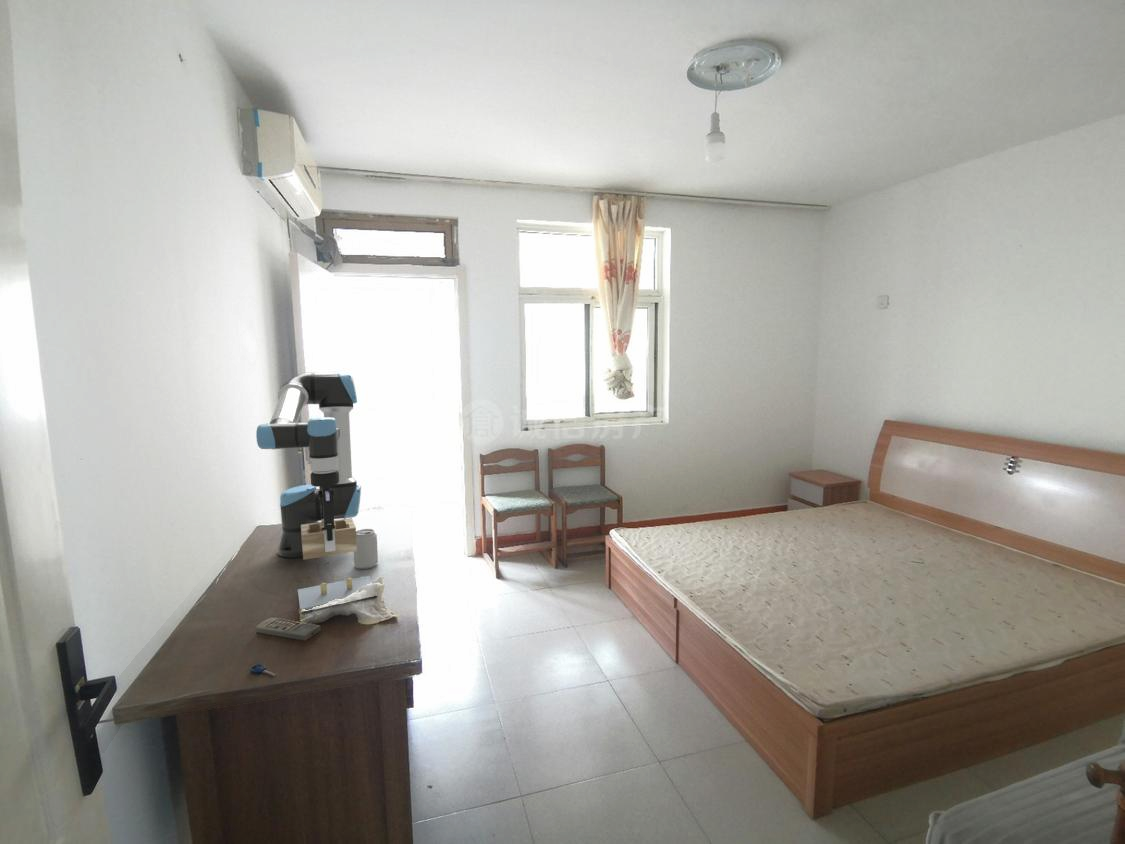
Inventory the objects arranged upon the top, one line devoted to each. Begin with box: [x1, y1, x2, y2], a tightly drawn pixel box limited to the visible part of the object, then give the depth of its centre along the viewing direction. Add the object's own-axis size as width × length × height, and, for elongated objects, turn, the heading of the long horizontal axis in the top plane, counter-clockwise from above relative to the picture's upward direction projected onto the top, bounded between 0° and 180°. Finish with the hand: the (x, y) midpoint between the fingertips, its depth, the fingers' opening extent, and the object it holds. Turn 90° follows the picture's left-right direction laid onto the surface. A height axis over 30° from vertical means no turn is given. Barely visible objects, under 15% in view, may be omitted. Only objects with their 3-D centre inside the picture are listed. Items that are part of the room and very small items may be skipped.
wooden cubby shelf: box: [301, 517, 357, 560], centre depth 152 cm, size 10×14×7 cm
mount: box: [297, 575, 373, 613], centre depth 152 cm, size 14×20×4 cm
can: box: [353, 528, 379, 570], centre depth 173 cm, size 8×8×12 cm
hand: (328, 545), depth 152 cm, fingers closed on wooden cubby shelf, 10 cm apart
